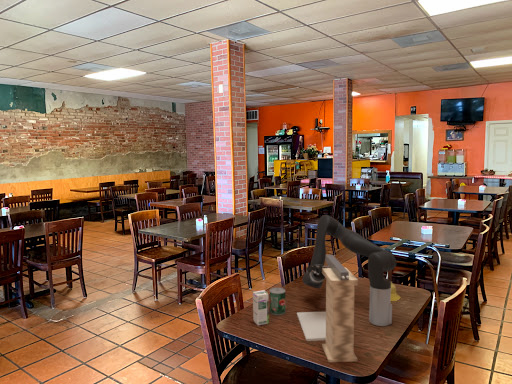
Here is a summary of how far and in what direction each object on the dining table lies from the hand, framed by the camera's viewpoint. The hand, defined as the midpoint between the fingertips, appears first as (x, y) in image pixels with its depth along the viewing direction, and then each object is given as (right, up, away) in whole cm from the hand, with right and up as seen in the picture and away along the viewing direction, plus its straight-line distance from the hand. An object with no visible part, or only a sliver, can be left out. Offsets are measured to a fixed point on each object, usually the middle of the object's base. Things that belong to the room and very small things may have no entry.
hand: (325, 266), depth 169 cm
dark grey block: (+1, +2, -19) cm, 19 cm away
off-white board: (-2, -28, +2) cm, 28 cm away
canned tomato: (-20, -26, +18) cm, 38 cm away
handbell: (+41, -24, +34) cm, 58 cm away
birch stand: (+2, -30, -20) cm, 36 cm away
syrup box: (-29, -28, +7) cm, 41 cm away
